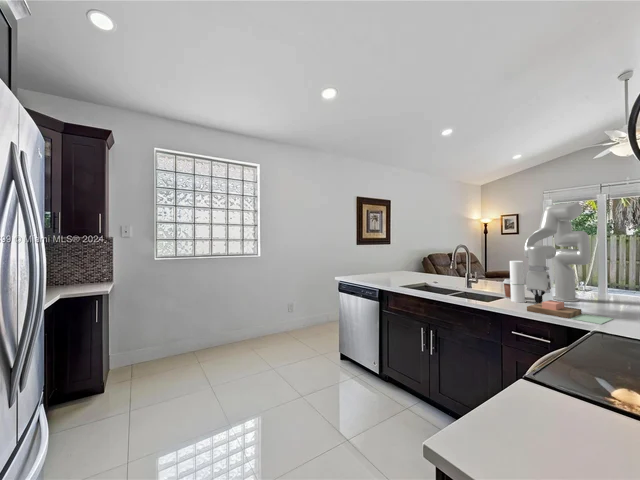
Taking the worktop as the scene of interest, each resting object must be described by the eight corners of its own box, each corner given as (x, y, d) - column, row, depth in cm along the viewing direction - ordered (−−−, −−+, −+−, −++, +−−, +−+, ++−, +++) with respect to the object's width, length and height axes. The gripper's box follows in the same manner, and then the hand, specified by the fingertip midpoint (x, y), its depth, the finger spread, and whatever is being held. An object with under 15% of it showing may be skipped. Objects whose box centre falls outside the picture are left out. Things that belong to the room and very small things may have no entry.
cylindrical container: (520, 300, 178) (519, 260, 178) (527, 302, 171) (526, 261, 171) (508, 300, 178) (507, 260, 179) (515, 302, 171) (513, 261, 171)
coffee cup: (500, 296, 191) (500, 278, 191) (515, 296, 189) (515, 278, 189) (506, 299, 182) (506, 280, 182) (522, 299, 180) (521, 280, 180)
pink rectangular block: (550, 305, 151) (550, 300, 152) (564, 307, 146) (564, 301, 146) (542, 307, 147) (541, 302, 147) (555, 310, 142) (555, 304, 142)
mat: (583, 314, 142) (583, 313, 142) (613, 319, 132) (613, 318, 132) (570, 318, 135) (569, 318, 135) (600, 324, 125) (600, 323, 125)
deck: (540, 307, 158) (540, 303, 158) (581, 314, 142) (581, 309, 142) (526, 311, 151) (526, 306, 151) (568, 318, 135) (568, 313, 135)
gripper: (557, 269, 148) (558, 304, 148) (525, 267, 161) (527, 299, 161) (550, 270, 144) (551, 306, 144) (518, 268, 157) (519, 301, 157)
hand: (538, 302), depth 152 cm, fingers closed
